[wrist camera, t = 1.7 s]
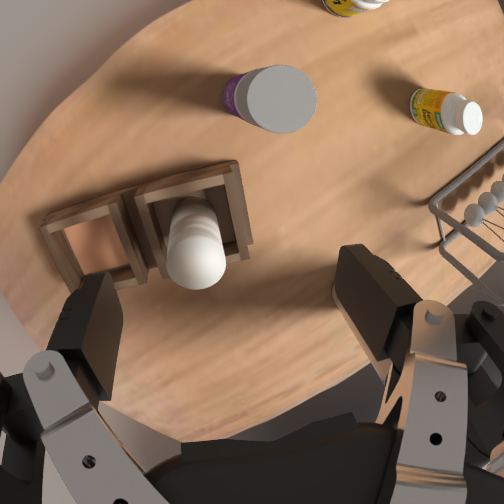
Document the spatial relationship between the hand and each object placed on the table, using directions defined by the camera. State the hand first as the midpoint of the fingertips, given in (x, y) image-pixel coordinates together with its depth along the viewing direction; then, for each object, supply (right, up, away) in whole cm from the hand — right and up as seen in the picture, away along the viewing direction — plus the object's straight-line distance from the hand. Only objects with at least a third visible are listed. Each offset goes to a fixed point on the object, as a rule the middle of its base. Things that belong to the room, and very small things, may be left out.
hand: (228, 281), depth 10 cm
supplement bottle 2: (+24, +21, +23) cm, 39 cm away
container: (0, +18, +19) cm, 26 cm away
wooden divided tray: (-12, +4, +24) cm, 27 cm away
